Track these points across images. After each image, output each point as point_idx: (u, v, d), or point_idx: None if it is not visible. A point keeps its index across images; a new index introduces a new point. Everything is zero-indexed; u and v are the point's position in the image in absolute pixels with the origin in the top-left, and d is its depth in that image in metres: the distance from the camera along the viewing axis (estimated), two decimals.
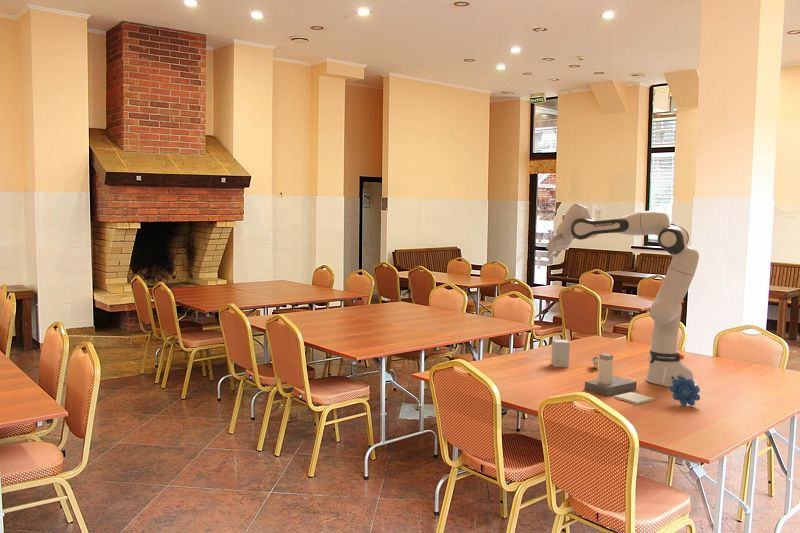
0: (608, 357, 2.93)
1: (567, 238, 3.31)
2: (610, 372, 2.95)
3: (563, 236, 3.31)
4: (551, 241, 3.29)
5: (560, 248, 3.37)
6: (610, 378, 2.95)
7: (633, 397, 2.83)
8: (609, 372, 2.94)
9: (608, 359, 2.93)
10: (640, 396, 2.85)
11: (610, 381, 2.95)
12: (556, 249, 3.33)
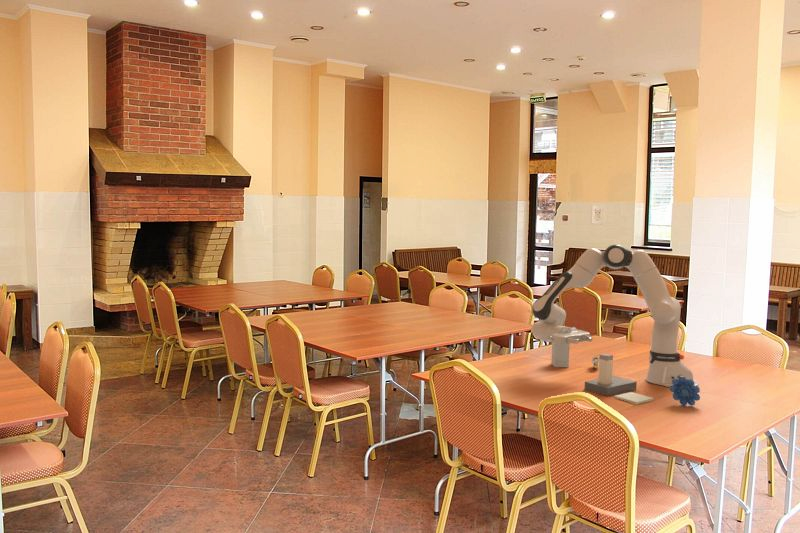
0: (608, 357, 2.93)
1: (558, 329, 3.13)
2: (610, 372, 2.95)
3: (556, 333, 3.13)
4: (554, 341, 3.07)
5: (574, 334, 3.10)
6: (610, 378, 2.95)
7: (633, 397, 2.83)
8: (609, 372, 2.94)
9: (608, 359, 2.93)
10: (640, 396, 2.85)
11: (610, 381, 2.95)
12: (567, 335, 3.07)
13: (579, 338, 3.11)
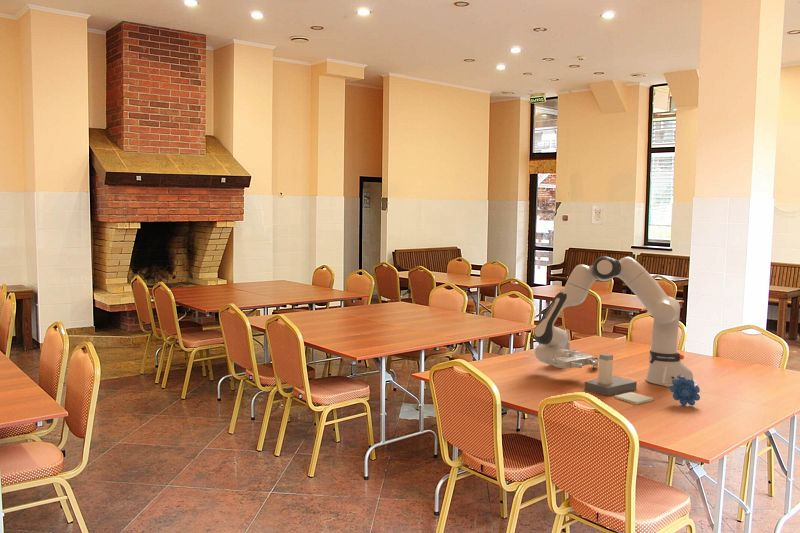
0: (608, 357, 2.93)
1: (561, 353, 3.12)
2: (610, 372, 2.95)
3: (559, 357, 3.12)
4: (557, 365, 3.06)
5: (578, 358, 3.09)
6: (610, 378, 2.95)
7: (633, 397, 2.83)
8: (609, 372, 2.94)
9: (608, 359, 2.93)
10: (640, 396, 2.85)
11: (610, 381, 2.95)
12: (570, 359, 3.06)
13: (582, 362, 3.10)
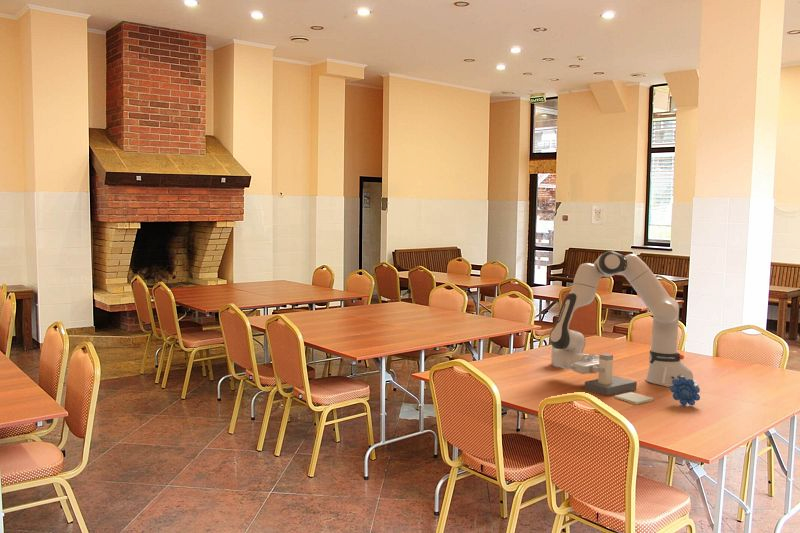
0: (608, 357, 2.93)
1: (579, 357, 3.04)
2: (610, 372, 2.95)
3: (577, 361, 3.03)
4: (575, 370, 2.97)
5: (596, 362, 3.00)
6: (610, 378, 2.95)
7: (633, 397, 2.83)
8: (609, 372, 2.94)
9: (608, 359, 2.93)
10: (640, 396, 2.85)
11: (610, 381, 2.95)
12: (589, 364, 2.97)
13: None
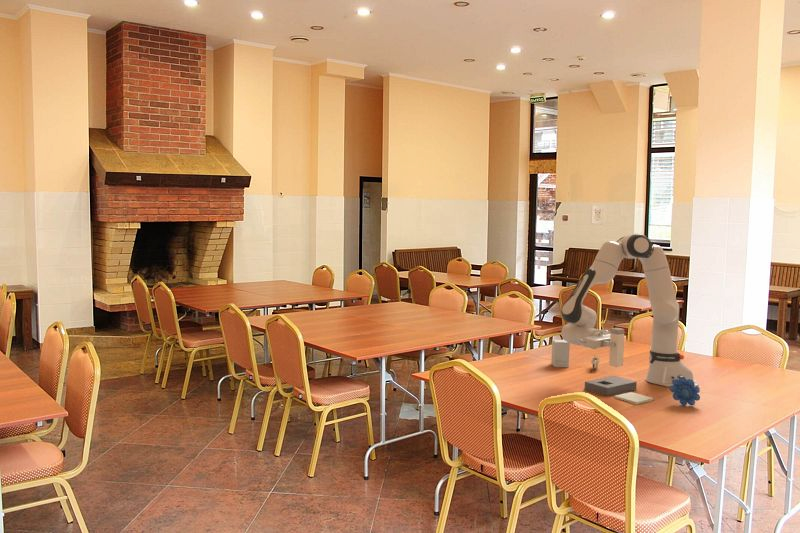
0: (619, 331, 2.88)
1: (590, 332, 2.98)
2: (621, 346, 2.89)
3: (588, 336, 2.98)
4: (586, 344, 2.92)
5: (608, 337, 2.95)
6: (622, 352, 2.90)
7: (633, 397, 2.83)
8: (620, 346, 2.89)
9: (619, 333, 2.88)
10: (640, 396, 2.85)
11: (621, 356, 2.90)
12: (600, 338, 2.92)
13: None
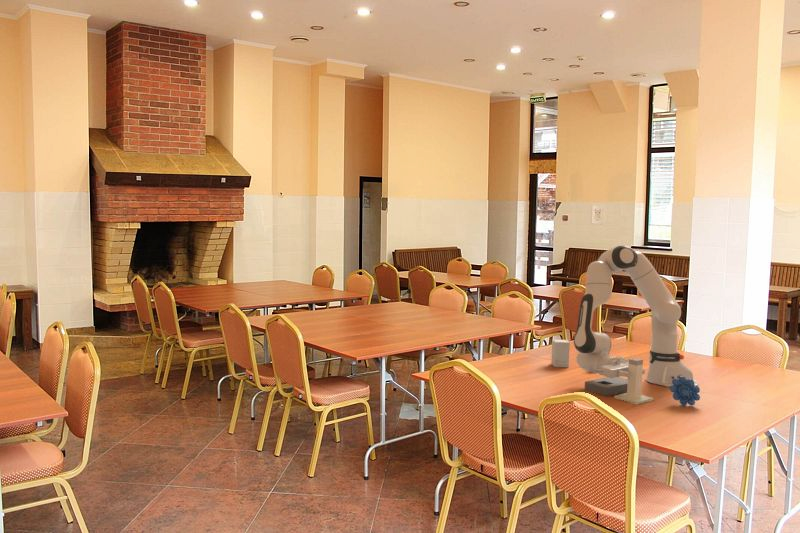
0: (638, 362, 2.81)
1: (607, 360, 2.91)
2: (640, 377, 2.82)
3: (604, 365, 2.91)
4: (603, 373, 2.85)
5: (625, 365, 2.88)
6: (640, 384, 2.83)
7: None
8: (639, 377, 2.82)
9: (638, 364, 2.81)
10: None
11: (640, 387, 2.83)
12: (617, 367, 2.85)
13: None
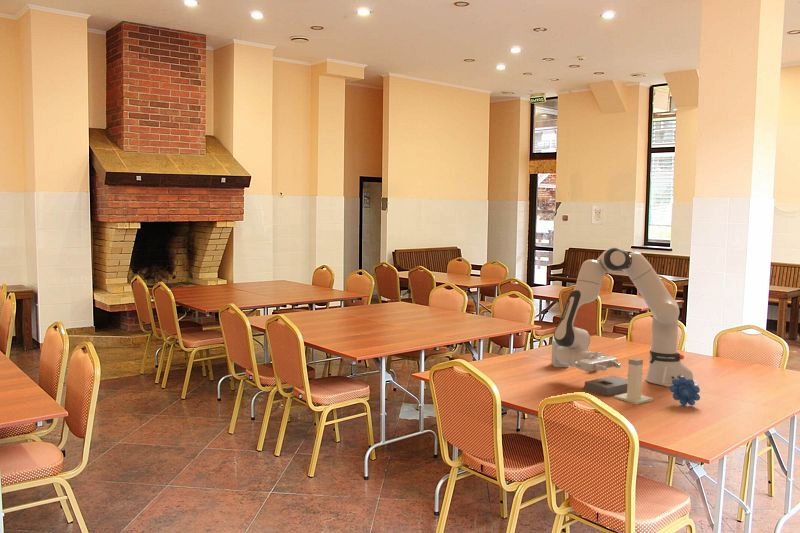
0: (638, 362, 2.81)
1: (584, 354, 3.01)
2: (640, 377, 2.82)
3: (582, 359, 3.01)
4: (580, 367, 2.94)
5: (602, 360, 2.98)
6: (640, 384, 2.83)
7: None
8: (639, 377, 2.82)
9: (638, 364, 2.81)
10: None
11: (640, 387, 2.83)
12: (594, 361, 2.94)
13: (606, 364, 2.99)
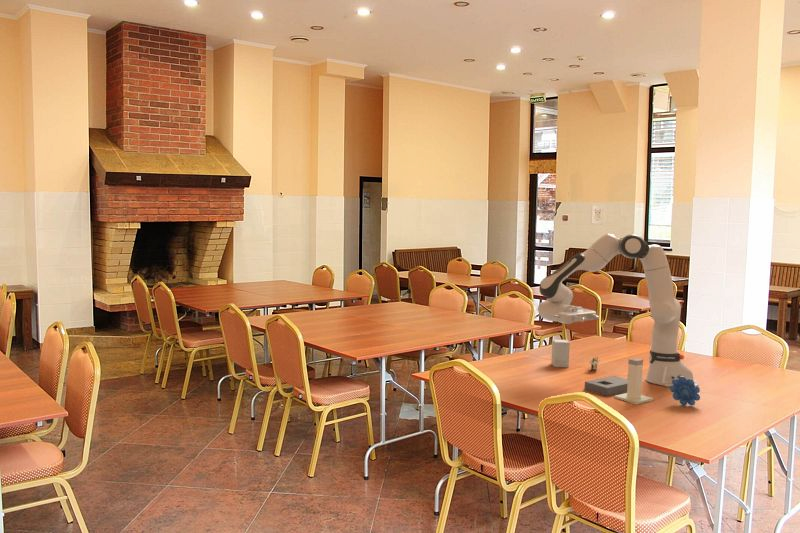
0: (638, 362, 2.81)
1: (564, 308, 3.12)
2: (640, 377, 2.82)
3: (562, 312, 3.12)
4: (560, 319, 3.05)
5: (581, 312, 3.09)
6: (640, 384, 2.83)
7: None
8: (639, 377, 2.82)
9: (638, 364, 2.81)
10: None
11: (640, 387, 2.83)
12: (573, 313, 3.05)
13: (585, 316, 3.09)
